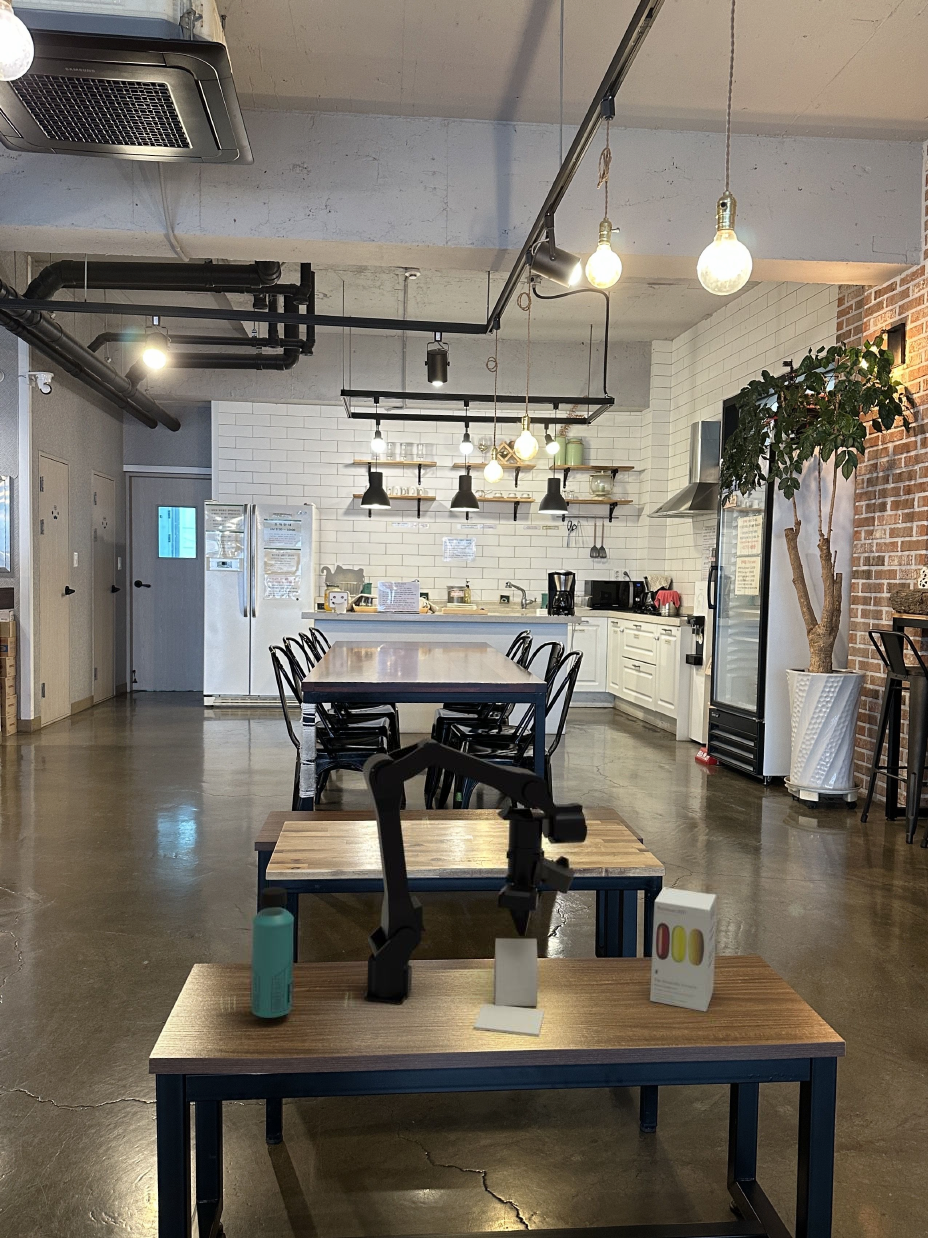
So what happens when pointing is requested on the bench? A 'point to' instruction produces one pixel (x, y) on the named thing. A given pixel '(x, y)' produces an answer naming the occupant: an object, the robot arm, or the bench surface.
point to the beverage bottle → (272, 956)
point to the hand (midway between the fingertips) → (522, 935)
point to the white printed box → (515, 972)
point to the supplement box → (683, 948)
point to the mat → (509, 1019)
